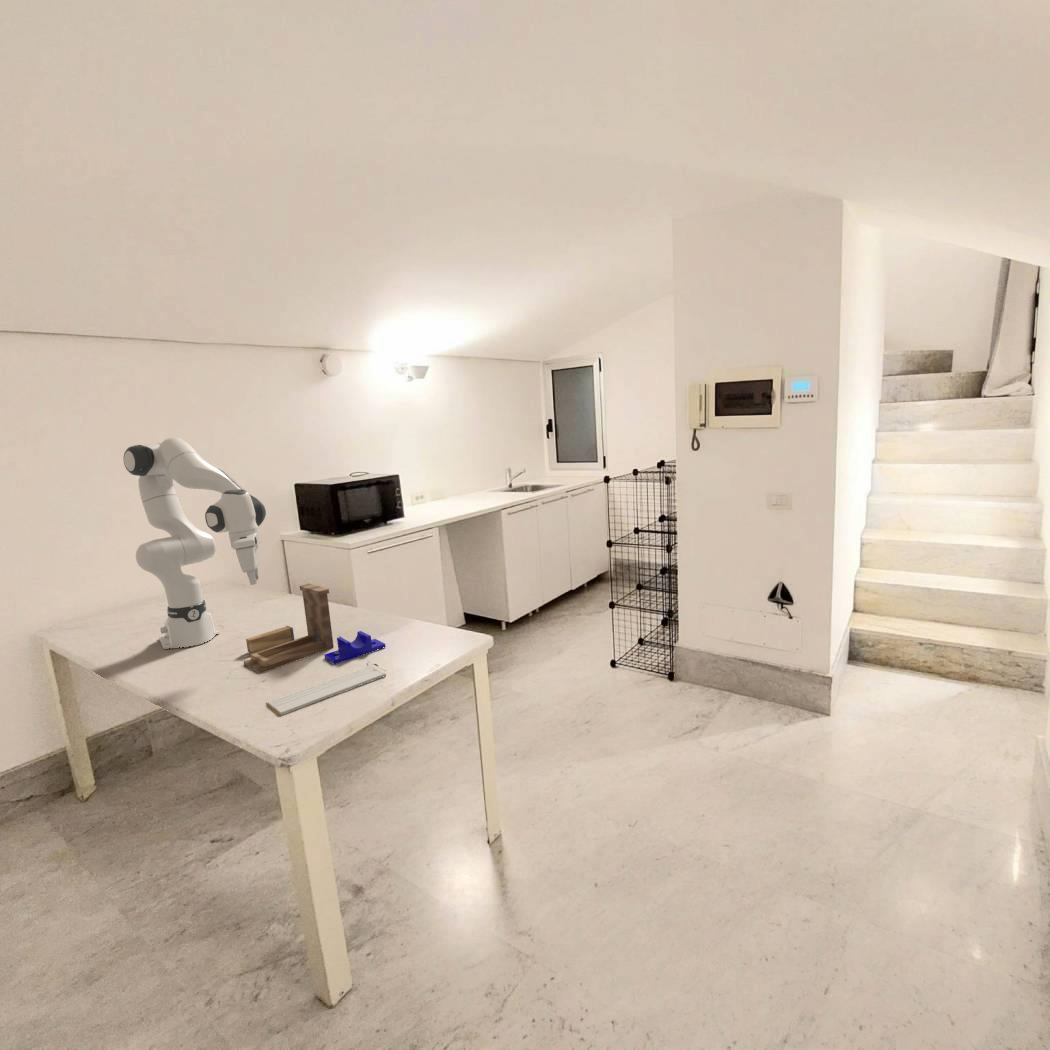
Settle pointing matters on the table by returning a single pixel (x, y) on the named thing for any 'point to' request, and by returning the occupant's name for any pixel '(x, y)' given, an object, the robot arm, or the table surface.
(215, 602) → the table surface
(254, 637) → the oak rail piece
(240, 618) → the table surface
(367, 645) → the mounting bracket
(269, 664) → the wooden l-shaped stand
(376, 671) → the baseboard molding
